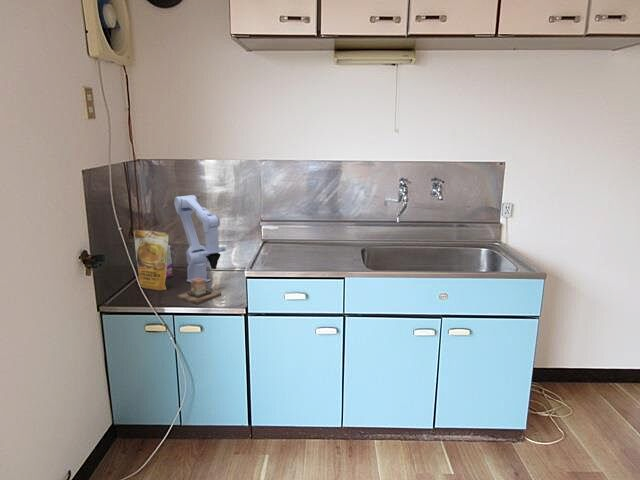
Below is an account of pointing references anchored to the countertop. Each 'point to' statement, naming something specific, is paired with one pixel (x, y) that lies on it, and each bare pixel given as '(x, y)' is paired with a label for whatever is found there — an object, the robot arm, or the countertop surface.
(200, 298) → the socket board
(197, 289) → the block stack
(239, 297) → the countertop surface
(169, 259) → the candy bar box
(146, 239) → the pancake mix bag
